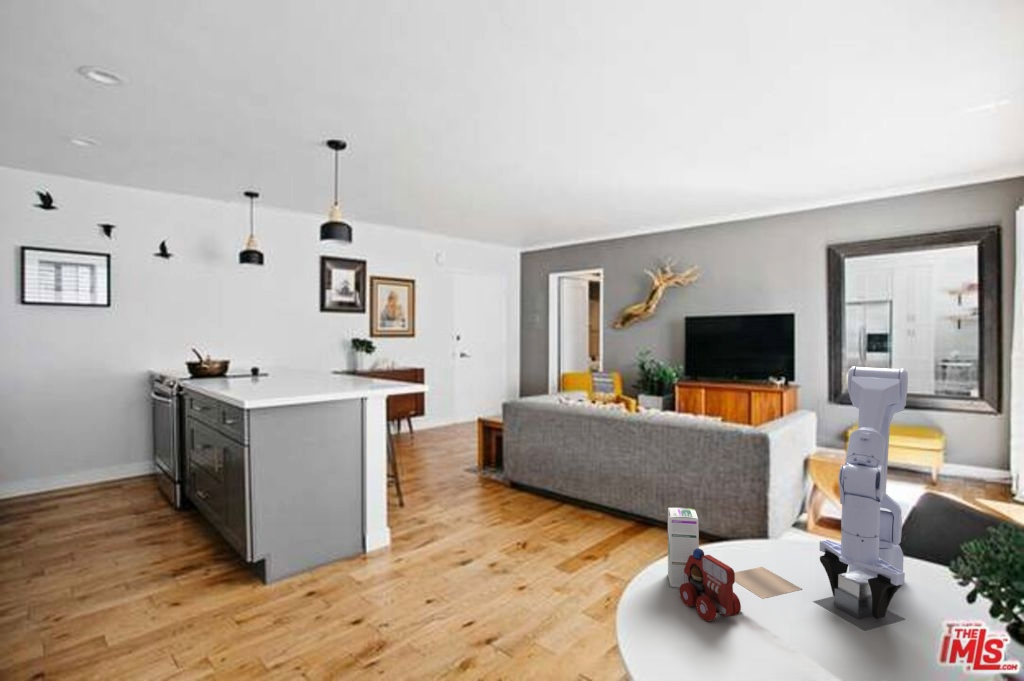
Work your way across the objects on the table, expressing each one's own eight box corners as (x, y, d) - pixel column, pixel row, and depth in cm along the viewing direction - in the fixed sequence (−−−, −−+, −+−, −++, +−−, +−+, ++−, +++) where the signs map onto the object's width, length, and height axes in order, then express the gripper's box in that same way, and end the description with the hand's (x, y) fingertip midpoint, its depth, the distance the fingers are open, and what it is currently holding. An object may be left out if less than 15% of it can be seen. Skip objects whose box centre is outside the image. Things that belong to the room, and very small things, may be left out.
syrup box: (699, 590, 107) (700, 518, 106) (668, 587, 108) (669, 516, 107) (695, 576, 112) (696, 508, 112) (666, 573, 114) (667, 506, 113)
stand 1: (762, 573, 114) (762, 566, 114) (802, 596, 104) (802, 589, 104) (724, 581, 110) (724, 574, 110) (762, 606, 101) (762, 598, 101)
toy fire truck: (702, 589, 107) (703, 538, 107) (747, 623, 95) (748, 565, 95) (672, 595, 105) (673, 543, 104) (715, 630, 93) (716, 571, 93)
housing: (857, 600, 100) (858, 569, 100) (881, 613, 96) (882, 580, 95) (834, 606, 98) (835, 574, 98) (857, 619, 94) (858, 586, 93)
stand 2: (851, 599, 103) (851, 591, 103) (905, 627, 94) (905, 619, 94) (812, 609, 100) (812, 601, 100) (864, 639, 90) (864, 630, 90)
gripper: (808, 520, 102) (806, 590, 102) (884, 551, 88) (882, 632, 89) (835, 515, 104) (833, 584, 105) (914, 545, 90) (911, 623, 91)
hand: (857, 605), depth 97 cm, fingers open, 7 cm apart
